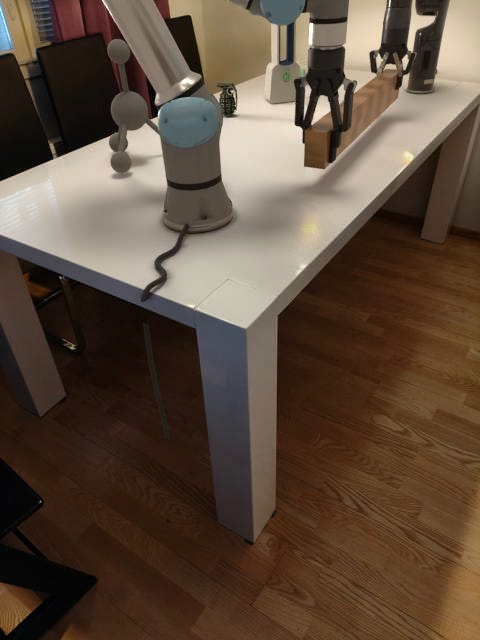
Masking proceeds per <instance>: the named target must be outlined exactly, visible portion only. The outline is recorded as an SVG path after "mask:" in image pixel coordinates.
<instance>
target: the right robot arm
mask: <svg viewBox="0 0 480 640" xmlns="http://www.w3.org/2000/svg"><path fill="white" fill-rule="evenodd" d="M450 3H451V0H415V3H414V8H415V14H416V15H417V16H418V17H434V19H433V22H431V23H429V24H428V25H426V26H422V27H419V28H418V29H416V31H415V33H414V34H415V35H414V39H413V40H414V41H413V47H412V50H409V48H408V41H409V34H410V29H411V21H412V6H413V0H386V3H385V4H386V5H385V11H384V15H383V21H382V29H381V30H382V31H381V39H380V40H381V41H380V46H379V48H378V49H372V50H370V51H369V53H368V55H369V66H370V73H371V74H375V76H377V75H379V74H380V73H381V72H383V71H384V70H385V69H386V66H387V65H393V66H395V69H397V72H398V77H397V83H396V90H398V89H399V90H400V88H402V87H403V80H404V76H406V75H408V80H407V87H406V91H407V92H408V93H411V94H429V93H432V92H434V84H435V80H436V74H437V73H438V69H437V68H438V64H439V63H438V62H439V57H440V52H441V46H442V41H443V35H444V30H445V26H446V20H447V16H448V11H449V8H450V7H449V6H450ZM379 56H380V59H381V62H380V64H379V66H378V64H377V58H378V57H379ZM406 56H407V60H408V62H407V64H406V66H405V69H404V62H403V59H404V58H405V57H406Z"/></svg>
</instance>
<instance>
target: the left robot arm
mask: <svg viewBox="0 0 480 640" xmlns="http://www.w3.org/2000/svg"><path fill="white" fill-rule="evenodd" d="M225 1H226V2H228V3H231V4H233V5H235V6H237V7H240V8H243V9H244V10H246V11H249V14H250V15H252V16H260V17H262V18H264V19H265V20H266V21H267V22H269V23H270V24H271V23H272V24H275V25H278V26H280V27H284V26H286V25H288V24H291V23H293V22H294V21H295V20H296V21H297V20H298V19H299V17H300V16H301V15H302V14H307V13H308V14H309V19H308V21H309V24H308V41H307V42H308V43H307V44H308V45H309V46H310V47H309V48H308V49H307V58H308V71H307V73H306V76H303V77H301V76H300V77H298V78H296V79H295V80H294V86H295V89H296V100H295V101H294V102H295V103H294V105H295V106H294V126H295V127H299V128H301V130H302V135H301V136H302V139H301V142H302V144H303V145H305V130H306V129H308V128H309V127H310V126H312V125H313V120H314V116H315V114H316V113H315V112H316V109H317V106H318V102H319V99H320V97H321V96H324V97H325V98H327V102H328V104H329V111H331V116H332V122H333V128H334V132H332V133H331V136H330V152H329V163H331V164H333V163H334V162H335V161H336V160H337V158H336V152H337V148H339V147H340V145H341V139H342V132H346V131H347V130H349V129H350V128H351V122H352V109H353V96H354V93H355V92H356V88H357V85H358V81H357V80H356V79H353V80H352V79H349V78H347V77H346V74H345V63H346V62H345V60H346V48H345V46H344V45H346V44H347V33H348V20H349V19H348V18H349V7H350V0H225ZM102 2H103V5H104V6H105V7H106V9H107V10H108V12H109V14H110V17H112V19H113V22H114V23H115V25H116V26H117V27H118V30H119V31H120V34H122V36H123V39H124V40H125V42H126V43H127V45H128V47H129V49H130V51H131V52H132V54H133V55H134V57H135V59H136V60H137V62H138V64H139V66H140V67H141V69H142V71H143V73H144V74H145V76H146V78H147V79H148V81H149V83H150V84H151V86H152V88H153V90H154V91H155V99H154V105H155V107H156V109H157V110H158V113H157V126H158V131H159V134H160V135H159V134H158V135H159V139H160V145H161V153H162V159H163V168H164V173H165V180H166V190H165V191H166V192H165V196H164V203H163V207H162V218H163V222H164V224H165V226H167V227H168V228H169V229H171V230H173V231H177V232H180V234H179V236H178V238H177V240H176V242H175V244H174V246H172V248H171V249H169V250H167V251H165V252H163V253H161V254H159V255H158V256H157V257H156V258H155V260H154V267H155V268H156V270H157V271H159V272H160V274H161V275H160V277H158V278H156V279H154V280H153V281H151V282H149V283H148V284H147V285H146V286H145V287H144V289H143V291H142V293H141V297H140V302H141V303H145V302H147V299H148V295H149V294H150V292H151V291H152V290H153V289H154V288H155V287H157V286H159V285H161V284H162V283H164V282H165V281H166V280H167V276H168V273H167V270H166V269H165V267H164V266H162V264H161V262H162V261H163V260H164V259H166V258H168V257H170V256H173V255H174V254H175V253H177V251H178V250H179V248H180V247H181V246H182V244H183V243H182V242H183V240H184V238H185V235H186V234H187V233H190V234H191V233H192V234H193V233H194V234H195V233H196V234H197V233H205V232H206V233H207V232H210V231H215V230H216V229H220V228H222V227H224V226H226V225H227V224H228V223H230V221H231V220H232V218H233V216H234V212H233V211H234V210H233V206H234V205H233V202H232V200H231V198H230V197H229V195H228V192H227V190H226V187H225V184H224V182H223V175H222V174H223V173H222V164H221V163H222V161H221V147H220V146H221V145H220V144H221V143H220V141H221V134H222V129H223V125H224V115H223V114H222V109H221V106H220V104H219V102H220V101H219V99H218V98H217V97H216V96H215V95H214V94H213V93H212V92H211V91H210V90H209V87H208V86H207V84H206V82H205V80H204V78H203V76H202V74H200V73H197V72H195V71H192V70H191V69H190V67H189V65H188V63H187V61H186V60H185V57H184V56H183V54H182V51H181V50H180V49H179V47H178V45H177V42H176V41H175V39H174V37H173V35H172V33H171V31H170V30H169V27H168V26H167V23H166V21H165V19H164V18H163V16H162V13H161V12H160V10H159V8H158V7H157V4H156V2H155V1H154V0H102ZM306 82H307V83H306ZM307 84H308V86H309V89H310V93H309V97H308V98H309V99H308V103H307V107H306V111H305V105H306V86H307ZM342 85H343V90H344V97H343V101H344V109H343V124H342V118H341V111H340V105H339V104H340V100H339V98H340V94H339V89H340V88H341V87H342ZM142 326H143V334H144V335H143V336H144V342H145V350H146V356H147V362H148V367H149V372H150V378H151V383H152V387H153V391H154V395H155V400H156V403H157V408H158V411H159V415H160V419H161V424H162V428H163V433H164V438H165V439H167V440H169V439H170V437H171V435H170V431H169V425H168V420H167V415H166V412H165V408H164V404H163V400H162V399H163V398H162V395H161V391H160V386H159V381H158V377H157V371H156V366H155V361H154V360H155V359H154V355H153V348H152V341H151V332H150V325H149V323H146V322H142Z"/></svg>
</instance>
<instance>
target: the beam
mask: <svg viewBox="0 0 480 640" xmlns="http://www.w3.org/2000/svg"><path fill="white" fill-rule="evenodd" d="M397 77H398V72H397V69H396V68H394V69H393V68H384V70H383V72H381V73H380V74H379V75H375V76H374V77H373V78H372V79H371V80H370V81H368V82H367V83H366V84H364V85H363V86H361V87H360V88H358V89H357V90H355V91H354V96H353V109H352V122H351V128H350V129H349V130H347V131H346V132H342V139H341V145H340V147H339V148H337V152H336V159H337V158H338V157H339V156H340V155H341V154H342V153H343V152H344V151H345V150H346V149H348V147H349V146H351V144H352V143H354V141H356V140H357V139H358V138H359V136H361V135H362V133H364V131H366V130H367V129H368V128H369V127H370V126H371V125H372V124H373V123H374V122H375V121H376V120H377V119H378V118H379V117H380V116H382V114H383V113H384V112H385V111H387V109H389V108H390V106H392V104H394V102H396V101H397V100H398V99H399V94H400V88H399V89H398V90H396V83H397ZM339 105H340V111H341V118H342V124H343V109H344V100H343V101H341V102H339ZM332 132H334V128H333V122H332V116H331V110H329V112H327V113H326V114H325V115H323V116H322V117H321V118H319V119H318V120H317V121H315V122H314V123H312V126H310V127H309V128H308V129H306V130H305V144H304V149H303V150H304V151H303V167H304V168H311V169H318V170H325V169H327V168H328V167H329V166H330V165H331V164H332V163H329V152H330V136H331V133H332Z"/></svg>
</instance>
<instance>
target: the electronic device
mask: <svg viewBox="0 0 480 640" xmlns="http://www.w3.org/2000/svg"><path fill="white" fill-rule="evenodd" d="M285 26H286V32H285V35H286V36H285V37H286V39H285V40H286V42H285V45H286V46H285V59H283V60H281V26H278V25H275V24H272V23H270V30H271V31H270V39H271V40H270V42H271V44H270V45H271V46H270V47H271V49H270V50H271V55H270V56H271V61H270V62H269V63H268V64H267V65H266V69H265V70H266V71H265V80H264V89H263V92H264V94H263V95H264V98H266V99H267V101H269V102H270V103H271V104H281V103H289V102H295V100H296V89H295V86H294V80H295V79H296V78H298V77H300V66H299V65H298V64H297V63H296V62H295V61H296V52H297V51H296V50H297V48H296V45H297V19H296V20H295V21H294V22H293V23H291V24H288V25H285Z"/></svg>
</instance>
